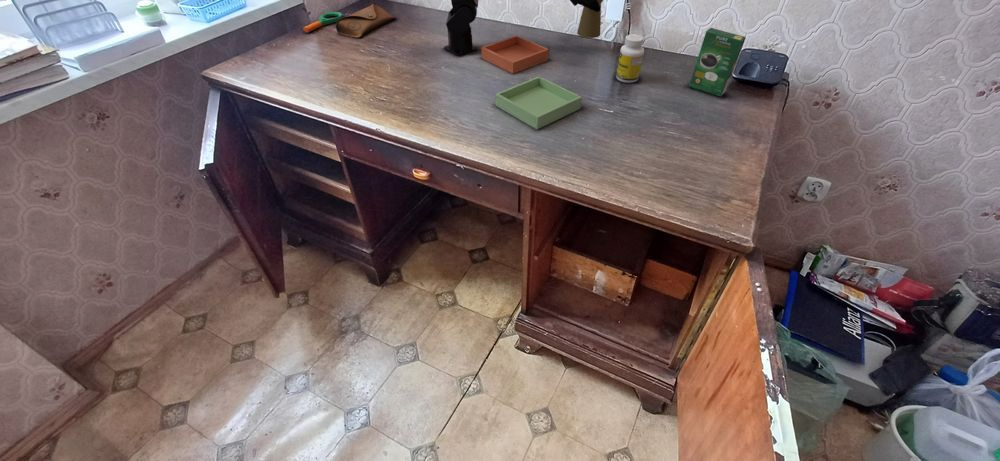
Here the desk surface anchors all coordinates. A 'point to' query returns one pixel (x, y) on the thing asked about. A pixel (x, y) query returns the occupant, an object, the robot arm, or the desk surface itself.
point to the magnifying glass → (323, 21)
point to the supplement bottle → (630, 59)
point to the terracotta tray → (515, 54)
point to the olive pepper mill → (590, 22)
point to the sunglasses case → (363, 21)
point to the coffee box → (716, 61)
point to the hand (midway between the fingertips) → (597, 7)
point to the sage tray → (538, 102)
